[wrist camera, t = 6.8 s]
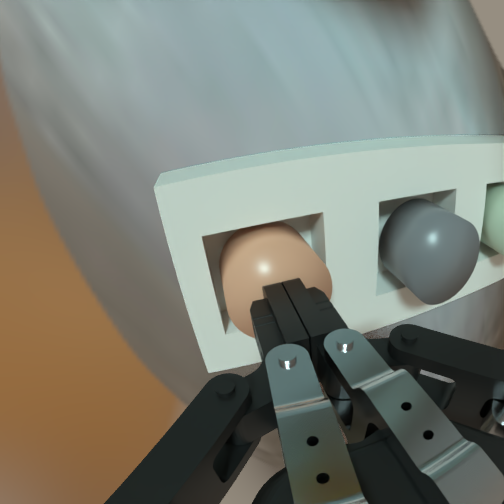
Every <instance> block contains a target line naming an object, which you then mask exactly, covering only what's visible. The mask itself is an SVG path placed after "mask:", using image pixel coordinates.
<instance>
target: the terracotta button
mask: <svg viewBox="0 0 504 504" xmlns="http://www.w3.org/2000/svg"><path fill="white" fill-rule="evenodd" d="M219 269H220V275H221V281H222V286H223V291H224V296H225V301H226V306H227V311H228V314H229V317H230V319H231V321H232V322H233V324H234V325H235V326H236V327H237V328H238V329H239V330H240V331H241V332H243V333H244V334H246V335H248V336H250V337H252V338H255V335H254V330H253V325H252V320H251V314H250V308H251V305H252V302H253V301H256V300H260V299H264V297H263V290H262V286H265V285H270V284H274V283H279V282H283V281H287V280H291V279H296V278H300V279H301V281H302V283H303V284H304V286H305V287H306V289H307V288H311V287H316V288H318V289H319V290H321V291H323V292H324V293H325V294H326V296H327V297H328V299H329V301H330V299H331V295H332V279H331V275H330V272H329V270H328V268H327V267H326V265H325V264H324V263H323V261H322V260H321V259H320V258H319V256H318V255H317V254H316V253H315V252H314V250H313V249H312V248H311V247H310V246H309V244H308V243H307V242H306V241H305V240H304V238H303V237H302V236H301V235H300V234H299V233H298V231H297V230H295V229H294V228H293V227H291V226H290V225H288V224H286V223H283V222H280V221H275V222H269V223H265V224H260V225H255V226H250V227H245V228H240V229H239V230H237V231H236V232H235V233H234V234H233V235H232V236H231V237H230V238H229V239H228V240H227V242H226V243H225V245H224V247H223V249H222V252H221V255H220V260H219Z"/></svg>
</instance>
